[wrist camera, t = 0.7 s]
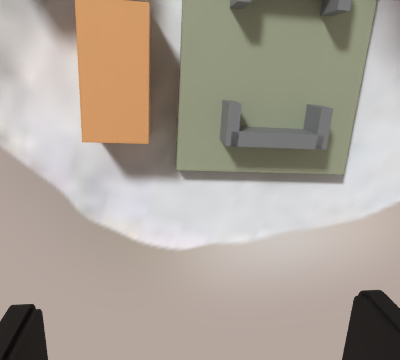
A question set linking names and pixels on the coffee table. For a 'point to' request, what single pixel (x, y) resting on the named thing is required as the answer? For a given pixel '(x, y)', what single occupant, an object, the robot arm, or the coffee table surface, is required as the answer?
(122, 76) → the tall tan rectangular prism
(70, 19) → the coffee table surface
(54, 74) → the coffee table surface
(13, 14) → the coffee table surface
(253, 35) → the green bracket base plate
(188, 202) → the coffee table surface
